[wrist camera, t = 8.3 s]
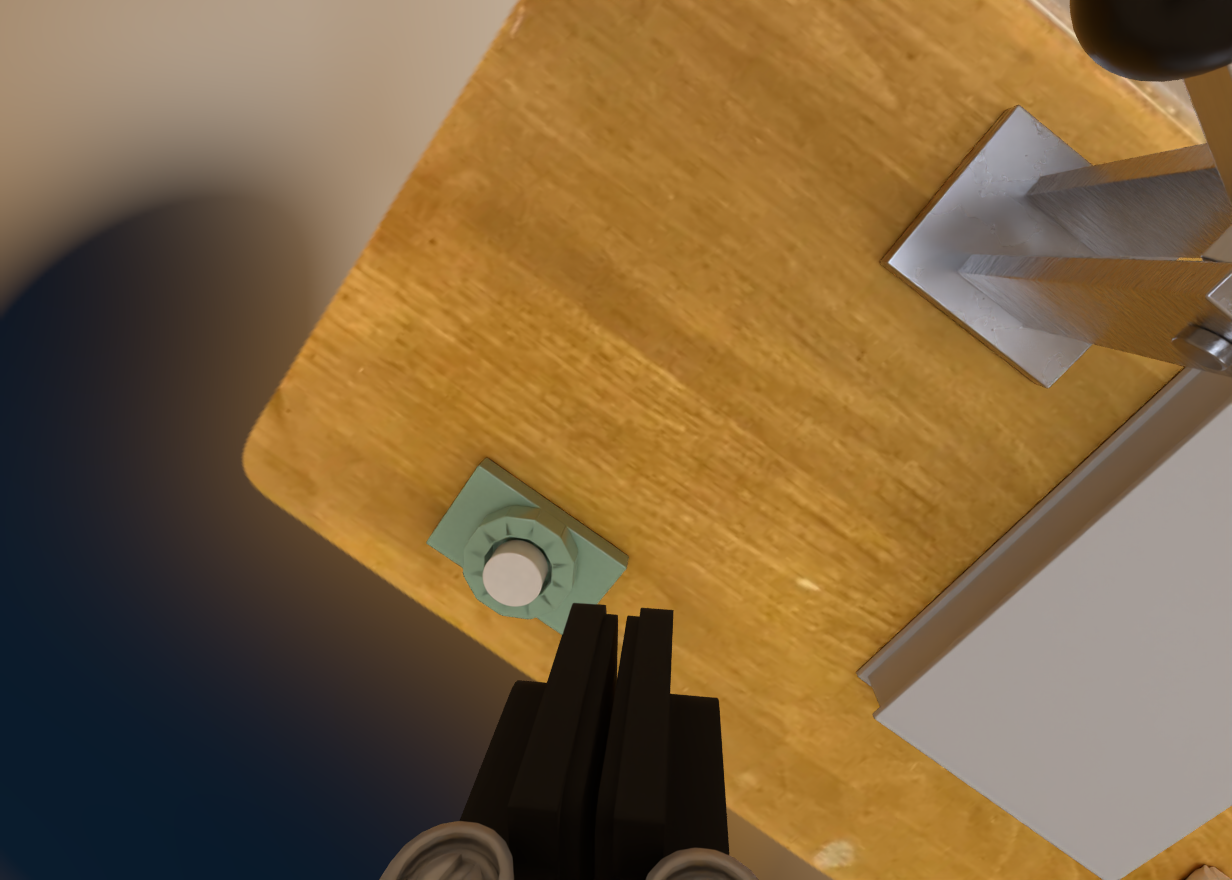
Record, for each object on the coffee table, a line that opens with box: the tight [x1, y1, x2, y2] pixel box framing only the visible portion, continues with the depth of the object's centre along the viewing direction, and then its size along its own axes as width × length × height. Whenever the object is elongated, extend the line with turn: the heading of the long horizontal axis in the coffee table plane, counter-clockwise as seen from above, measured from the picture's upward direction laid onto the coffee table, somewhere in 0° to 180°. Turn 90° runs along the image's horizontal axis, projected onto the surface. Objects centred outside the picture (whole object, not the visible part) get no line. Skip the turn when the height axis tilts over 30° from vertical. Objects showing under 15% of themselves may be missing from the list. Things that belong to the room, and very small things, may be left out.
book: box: [856, 367, 1232, 880], centre depth 32 cm, size 18×4×24 cm
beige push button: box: [483, 540, 548, 607], centre depth 33 cm, size 3×3×2 cm
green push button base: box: [426, 458, 629, 635], centre depth 35 cm, size 10×6×3 cm, turn 55°
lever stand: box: [880, 105, 1232, 388], centre depth 22 cm, size 10×8×16 cm
